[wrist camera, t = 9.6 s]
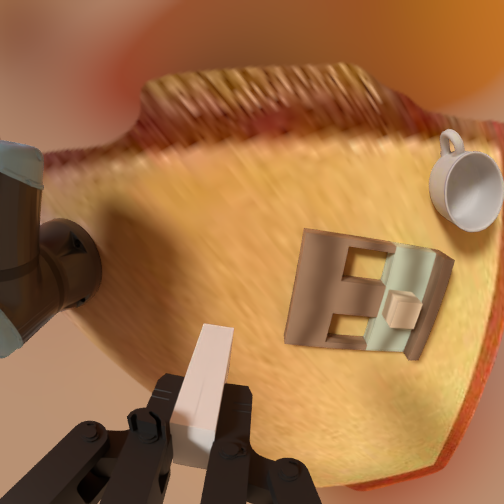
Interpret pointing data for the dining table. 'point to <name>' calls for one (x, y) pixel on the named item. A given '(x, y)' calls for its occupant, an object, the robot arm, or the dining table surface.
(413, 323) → the block
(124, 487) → the robot arm
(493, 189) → the teacup
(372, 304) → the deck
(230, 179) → the dining table surface
